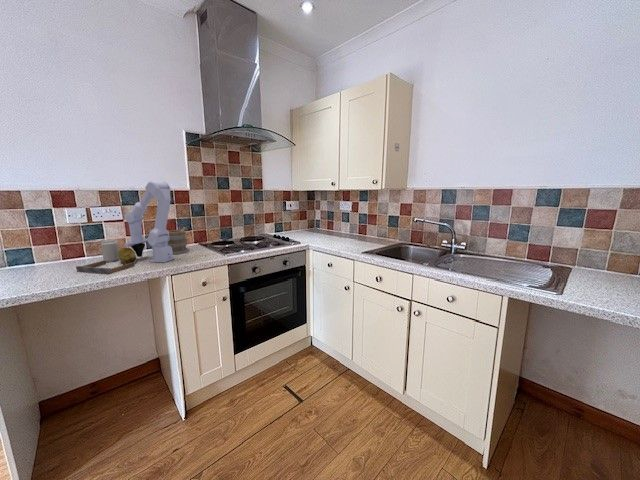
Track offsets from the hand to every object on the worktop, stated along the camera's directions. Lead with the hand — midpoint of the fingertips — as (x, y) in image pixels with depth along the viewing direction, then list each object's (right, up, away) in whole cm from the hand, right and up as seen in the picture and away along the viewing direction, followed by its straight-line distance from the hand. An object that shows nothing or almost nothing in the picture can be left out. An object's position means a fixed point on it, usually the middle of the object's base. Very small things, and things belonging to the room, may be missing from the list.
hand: (139, 256), depth 154 cm
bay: (-4, -5, -18) cm, 20 cm away
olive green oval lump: (-2, -3, -7) cm, 8 cm away
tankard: (+14, +2, +19) cm, 24 cm away
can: (-14, -2, -3) cm, 14 cm away
